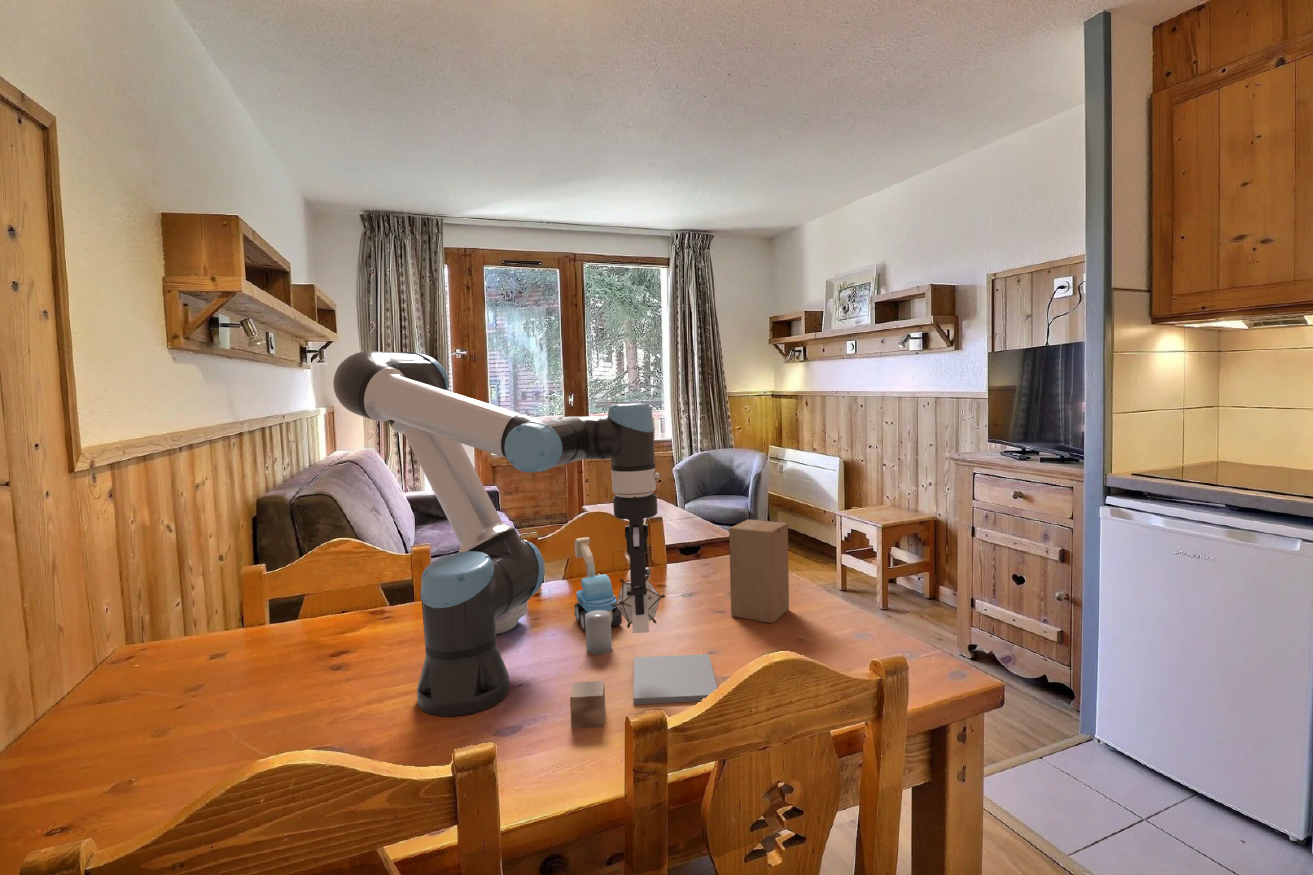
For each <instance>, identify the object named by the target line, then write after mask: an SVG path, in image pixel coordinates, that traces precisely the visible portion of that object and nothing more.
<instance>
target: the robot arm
mask: <svg viewBox="0 0 1313 875" xmlns="http://www.w3.org/2000/svg"><path fill="white" fill-rule="evenodd" d="M332 384H333V391H334V394H335V397H336V398H337V400H338V402H339V403H340V404H341V405H342V407H343V408H345V409H346V410H347V411H349V412H351V413H353V414H354V415H357V416H360V417H363V418H366V419H370V420H373V421H376V422H380V423H381V422H387V421H388V423H389V425H390V427H391V429H392V431H393V432H397V433H400V434H403V435H404V437H405V438H406V440H407V442H408V444H409V446H410V448H411V450H412V451H413V454H414V455H415V458H416V459H417V462H418V464H419V466H420V467H421V470H422V471H423V474H424V476H425V477H426V479H427V481H428V483H429V485H430V488H431V489H432V491H433V493H434V495H435V497H436V499H437V501H438V502H439V504H440V507H441V508H442V510H443V512H444V515H445V517H446V519H447V521H448V522H449V524H450V526H451V528H452V530H453V531H454V534H455V536H456V537H457V540H458V542H459V543H460V548H459V551H458V552H455V553H454V554H452V555H451V554H447V555H444V556H442V557H439V558H438V559H435V560H433V561H432V562H430V563H429V564H428V565H427V566H426V567H425V568H424V570H423V572H422V575H421V580H420V581H421V588H420V599H421V609H422V620H423V621H422V622H423V634H424V635H423V636H424V637H423V638H424V647H425V649H424V650H425V656H424V657H425V658H424V662H423V666H422V669H421V673H420V676H419V680H418V684H417V687H416V697H417V698H416V699H417V705H418V707H419V709H420V710H421V711H423V712H425V713H426V714H430V715H433V716H440V717H441V716H442V717H455V716H456V717H458V716H465V715H470V714H473V713H474V714H475V713H478V712H480V711H483V710H486V709H488V708H491V707H493V706H495V705H496V704H498V703H500V702H501V701H502V700H504V699H505V698H506V697H507V695H508V694H509V692H510V689H511V688H510V675H509V672H508V670H507V669H508V668H507V666H506V665H505V662H504V660H503V657H502V655H501V652H500V650H499V648H498V644H497V643H498V642H497V640H498V639H497V634H496V619H497V618H498V617H500V616H502V615H503V614H505V613H507V612H508V611H510V610H512V609H513V608H515V607H517V606H519V605H521V604H523V603H525V602H526V601H527V602H528V601H529V600H530V599H531V598H532V597H533V596H534V595H535V594H536V593H537V592H538V591H539V590H540V588H541V587H542V584H543V581H544V578H545V573H546V571H545V570H546V569H545V560H544V557H543V555H542V553H541V551H540V550H539V548H538V547H537V546H536V545H535V544H534V543H533V542H530V541H528V540H527V539H523V538H520V536H519V533H518V531H517V530H516V528H515V527H514V526H512V525H509V524H506V523H504V522H503V521H502V519H501V517H500V515H499V513H498V510H496V507H495V506H494V504H493V501H492V500H491V497H490V496H489V494H488V492H487V490H486V488H485V486H484V485H483V482H482V481H481V478H480V477H479V475H478V473H477V471H476V469H475V467H474V464H473V463H472V462H471V459H470V458H469V455H468V454H467V452H466V449H465V448H464V446H463V445H465V446H469V447H472V448H475V449H478V450H480V451H484V452H487V453H490V454H493V455H496V456H498V457H501V458H505V459H507V460H508V462H509V463H510V464H511V465H512V466H513V467H514V469H516V470H517V471H519V472H522V473H540V472H545V471H547V470H550V469H553V468H555V467H559V466H562V465H563V466H564V465H566V464H570V463H571V464H572V463H574V462H577V461H578V462H579V461H584V460H610V464H611V469H610V473H611V474H610V475H611V488H612V489H611V491H612V493H613V494H615V495H614V496H613V497H612V503H613V516H614V517H615V518H616V519H620V520H628V521H629V522H628V525H624V537H625V540H626V552H627V554H628V555H629V569H630V570H629V572H630V573H629V574H630V575H629V576H630V581H631V590H630V591H629V592H627V596H631V606H632V633H633V634H638V633H640V634H641V633H650V626H649V625H650V623H649V622H650V621H649V620H648V599H647V589H646V576H647V575H649V576H650V575H651V569H649V568H648V569H647V563H646V554H647V553H648V538H649V526H648V524H645V519H651V518H653V517H656V516H657V514H658V496H657V494H656V493H654V492H655V491H656V489H657V481H656V479H659V478H660V473H658V472H656V459H655V458H656V457H655V455H656V454H655V427H654V417H653V408H652V407H651V406H650V404H648V403H645V402H634V403H615V404H611V405H609V407H608V412H607V415H601V416H571V415H569V416H568V415H567V416H561V417H553V418H550V419H549V420H543V419H540V418H536V417H532V416H530V415H525V414H523V413H521V412H516V411H514V410H511V409H508V408H504V407H500V406H498V405H495V404H490V403H487V402H484V401H482V400H479V399H478V400H477V399H475V398H472V397H468V396H466V395H462V394H459V393H455V392H453V391H450V390H449V388H450V379H449V377H448V374H447V372H446V370H445V368H444V367H443V366H442V364H441V363H439V361H438V360H436V359H435V358H433V357H431V356H429V355H427V354H423V353H419V352H414V351H402V352H392V351H375V350H365V351H359V352H355V353H354V354H351V355H349V356H348V357H346V358H344V360H343V361H341V362H340V364H339V365H338V367H337V368H336V370H335V373H334V376H333V383H332ZM634 587H635V588H634Z"/></svg>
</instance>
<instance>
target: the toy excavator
mask: <svg viewBox="0 0 1313 875" xmlns="http://www.w3.org/2000/svg"><path fill="white" fill-rule="evenodd" d="M590 543H591V540H590V537H588V536H587V537H579V538H575V540H574V554H575V558H576V559H581V558H583V559H584V560H583V561H584V562H585V567H586V577H585V576H584V577H583V578H582V579H580V586H581V587H582V589H579V590H577V591H576V601H577V602H578V603H575V604H574V616H575V619H576V621H577V623H580V626H581V627H582V631H584V632H586V627H585V614H586V613H588V612H591V611H595V610H604V611H608V612H610V614H611V626H618V625H621V624H622V623H623V618H622V616H623V615H622V613H621V612H620V611H619V609H618V608H617V607H616V606H615V607H612V606H611V605H612V604H616V602H617V599H616V596H615V595H614V590H613V585H612V581H611V579H610V576H608V574H606V573H604V574H597V575H596V568H595V561H594V556H593V552H592V551H591V549H590V545H591V544H590Z"/></svg>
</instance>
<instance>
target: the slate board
mask: <svg viewBox="0 0 1313 875" xmlns="http://www.w3.org/2000/svg"><path fill="white" fill-rule="evenodd" d="M717 688H718V686H717V681H716V676H715V673H714V668H713V666H712V661H711V658H710V654H708V653H703V654H681V655H680V654H679V655H678V654H677V655H676V654H675V655H661V656H660V655H658V656H657V655H655V656H654V655H653V656H652V655H651V656H639V657H638V656H637V657H636V656H635V657H633V697H632V698H633V705H647V704H649V705H650V704H652V705H653V704H667V703H668V704H669V703H671V704H673V703H691V702H692V703H693V702H701V701H700V700H702V699H703V698H706V697H707V696H708V695H709V694H710V693H712V692H713V691H714V690H715V689H717Z"/></svg>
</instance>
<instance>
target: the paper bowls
mask: <svg viewBox="0 0 1313 875" xmlns="http://www.w3.org/2000/svg"><path fill="white" fill-rule="evenodd" d="M528 609H529V608H528V601H526V602H525V603H523V604H521V605H519V606H517V607H515V608H513V609H512V610H510V611H508V612H507V613H505V614H503V615H502V616H500V617H498V618H497V619H496V635H499V634H500V635H501V634H503V633H506V632H508V631H511V630H513V629H514V628H515V627H517V625H518V623H519V620H520V618H522V617H524V616H525V615H526V614H528Z"/></svg>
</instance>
